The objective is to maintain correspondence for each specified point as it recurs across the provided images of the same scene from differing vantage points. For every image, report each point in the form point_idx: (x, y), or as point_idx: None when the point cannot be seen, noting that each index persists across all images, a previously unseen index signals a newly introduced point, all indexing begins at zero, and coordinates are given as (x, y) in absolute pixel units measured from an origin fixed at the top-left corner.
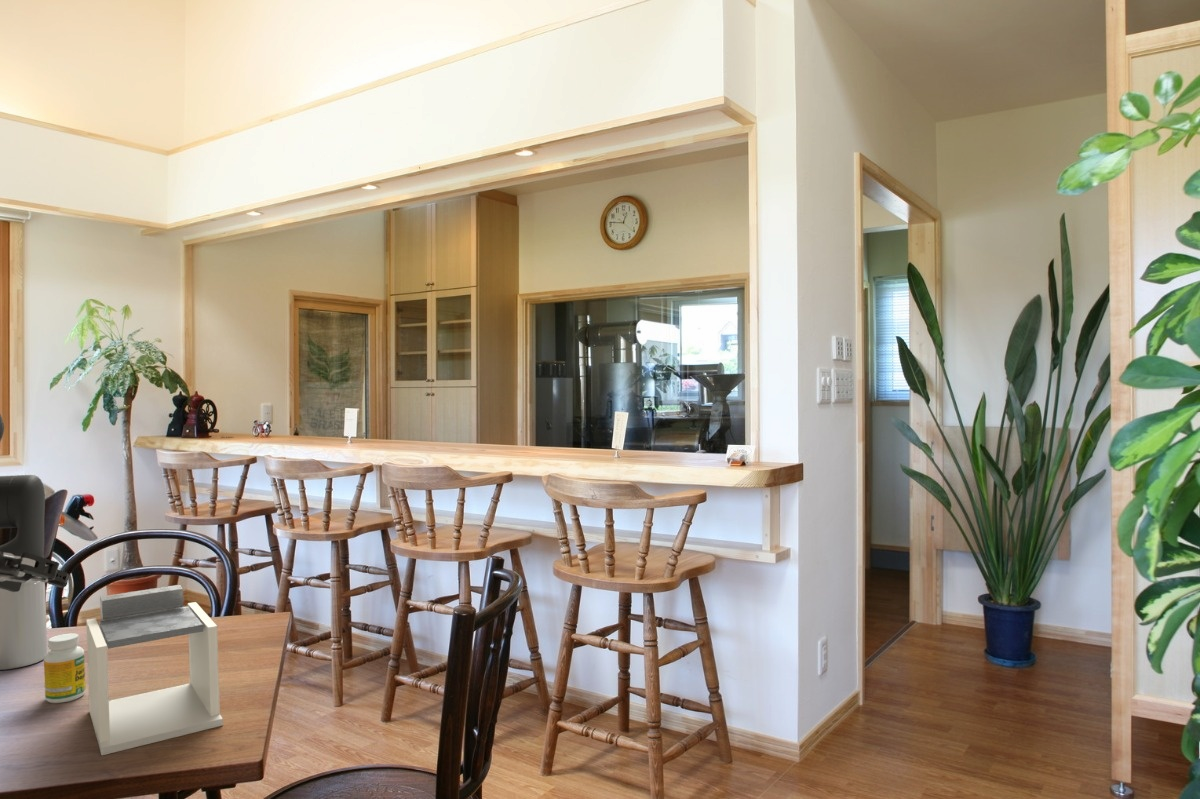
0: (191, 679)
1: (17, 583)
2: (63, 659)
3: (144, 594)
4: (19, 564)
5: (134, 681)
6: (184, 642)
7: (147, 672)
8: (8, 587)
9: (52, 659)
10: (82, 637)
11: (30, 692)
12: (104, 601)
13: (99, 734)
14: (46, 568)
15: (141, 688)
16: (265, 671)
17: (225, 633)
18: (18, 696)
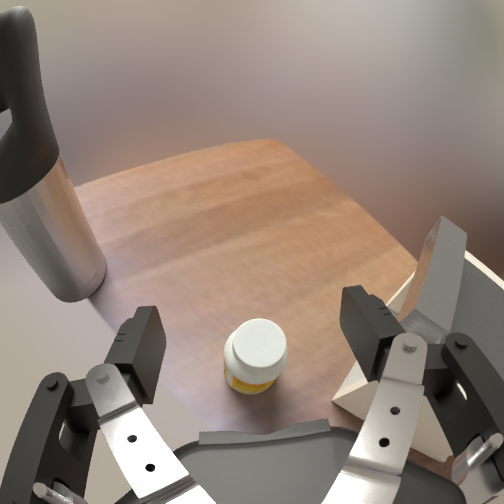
0: (399, 309)
1: (158, 331)
2: (280, 373)
3: (461, 273)
4: (499, 494)
5: (294, 306)
6: (240, 197)
7: (283, 278)
8: (157, 368)
9: (263, 381)
10: (105, 203)
11: (179, 366)
12: (448, 329)
13: (441, 456)
14: (438, 376)
15: (326, 322)
16: (402, 253)
17: (263, 174)
18: (174, 381)
